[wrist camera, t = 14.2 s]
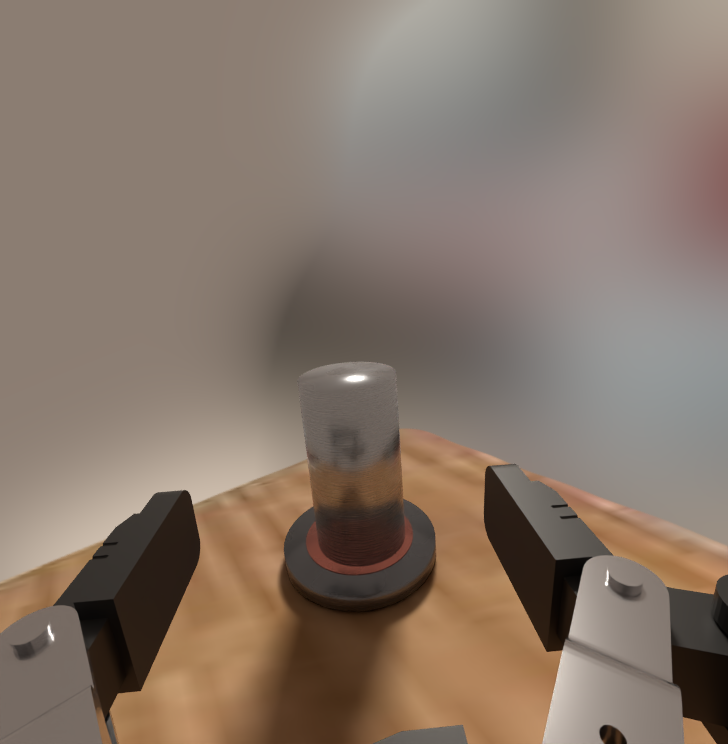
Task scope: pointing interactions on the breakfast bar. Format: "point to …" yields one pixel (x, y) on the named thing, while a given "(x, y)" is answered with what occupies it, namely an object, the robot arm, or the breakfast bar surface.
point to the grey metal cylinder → (354, 460)
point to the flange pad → (363, 583)
